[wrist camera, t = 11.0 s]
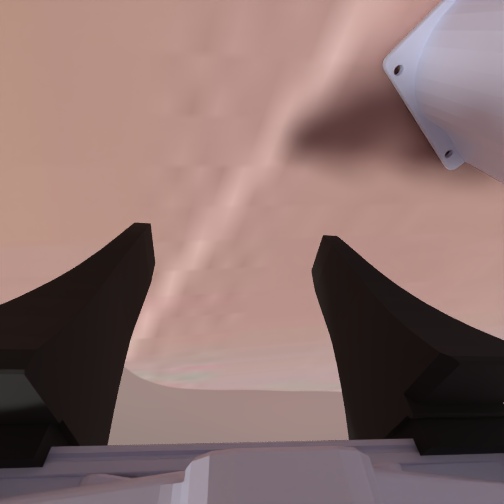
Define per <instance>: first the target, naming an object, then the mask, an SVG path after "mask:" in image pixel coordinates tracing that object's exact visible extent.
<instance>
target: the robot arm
mask: <svg viewBox="0 0 504 504" xmlns="http://www.w3.org/2000/svg"><path fill="white" fill-rule="evenodd" d="M398 65H400V71H399V72H398V73H397V74H396V75H395V74H394V69H395V68H396V66H398ZM383 69H384V71H385V73H386V74H387V76H388V78H389V79H390V81H391V82H392V84H393V86H394V87H395V89H396V90H397V92H398V93H399V95H400V97H401V98H402V100H403V101H404V103H405V105H406V106H407V108H408V109H409V111H410V113H411V114H412V116H413V117H414V119H415V121H416V122H417V124H418V125H419V127H420V128H421V130H422V132H423V133H424V135H425V136H426V138H427V140H428V141H429V143H430V144H431V146H432V148H433V149H434V151H435V152H436V154H437V156H438V157H439V159H440V160H441V162H442V164H443V165H444V167H445V168H447V169H448V170H454V169H456V168H458V167H459V166H461V165H462V164H463V163H465V162H467V163H468V164H470V165H472V166H474V167H475V168H477V169H479V170H481V171H482V172H484V173H486V174H488V175H489V176H491V177H493V178H495V179H496V180H498V181H500V182H502V183H504V0H442V1H441V2H440V3H439V4H438V5H437V6H436V7H435V8H434V9H433V10H432V11H431V12H430V13H429V14H428V15H427V16H426V17H425V18H424V19H423V20H422V21H421V22H420V23H419V24H418V25H417V26H416V27H415V28H414V29H413V30H412V31H411V32H410V33H409V34H408V35H407V36H406V37H405V38H404V39H403V40H402V41H401V42H400V43H399V44H398V45H397V46H396V47H395V48H394V49H393V50H392V51H391V52H390V53H389V54H388V55H387V56H386V57H385V59H384V61H383ZM447 151H449V153H448V154H447V155H445V153H446V152H447ZM154 266H155V257H154V249H153V240H152V232H151V224H149V223H134V224H132V225H131V226H130V227H129V228H127V229H126V230H125V231H124V232H122V233H121V234H120V235H119V236H117V237H116V238H115V239H114V240H112V241H111V242H110V243H109V244H107V245H106V246H105V247H103V248H102V249H101V250H99V251H98V252H97V253H95V254H94V255H92V256H91V257H89V258H88V259H87V260H85V261H84V262H82V263H81V264H79V265H78V266H76V267H75V268H73V269H71V270H70V271H68V272H66V273H65V274H63V275H61V276H59V277H58V278H56V279H54V280H52V281H50V282H48V283H46V284H44V285H42V286H40V287H38V288H36V289H34V290H32V291H30V292H28V293H26V294H24V295H22V296H20V297H18V298H15V299H13V300H11V301H8V302H6V303H4V304H1V305H0V504H504V404H503V402H504V340H502V339H499V338H497V337H495V336H492V335H490V334H487V333H485V332H482V331H480V330H478V329H475V328H473V327H471V326H469V325H467V324H465V323H463V322H461V321H458V320H456V319H454V318H452V317H450V316H448V315H446V314H445V313H443V312H441V311H439V310H437V309H435V308H434V307H432V306H430V305H428V304H426V303H425V302H423V301H421V300H420V299H418V298H416V297H415V296H413V295H412V294H410V293H409V292H407V291H405V290H404V289H402V288H401V287H399V286H398V285H397V284H395V283H394V282H392V281H391V280H390V279H388V278H387V277H386V276H384V275H383V274H382V273H380V272H379V271H378V270H377V269H375V268H374V267H373V266H372V265H371V264H369V263H368V262H367V261H366V260H365V259H363V258H362V257H361V256H360V255H359V254H358V253H357V252H355V251H354V250H353V249H352V248H351V247H350V246H348V245H347V244H346V243H345V242H344V241H343V240H341V239H340V238H339V237H337V236H328V235H323V237H322V240H321V243H320V246H319V249H318V252H317V255H316V259H315V262H314V265H313V268H312V277H313V283H314V288H315V292H316V295H317V298H318V301H319V304H320V307H321V310H322V313H323V316H324V319H325V322H326V325H327V328H328V331H329V334H330V337H331V341H332V344H333V349H334V353H335V358H336V362H337V367H338V373H339V378H340V383H341V388H342V394H343V401H344V406H345V413H346V420H347V428H348V435H349V440H328V441H286V442H242V443H241V442H240V443H196V444H154V445H153V444H152V445H107V444H108V439H109V434H110V429H111V423H112V418H113V413H114V408H115V404H116V399H117V394H118V389H119V385H120V381H121V376H122V372H123V368H124V363H125V359H126V355H127V351H128V347H129V343H130V340H131V336H132V333H133V330H134V327H135V325H136V322H137V319H138V317H139V314H140V311H141V309H142V306H143V303H144V301H145V298H146V295H147V292H148V290H149V287H150V284H151V280H152V275H153V271H154Z"/></svg>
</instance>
